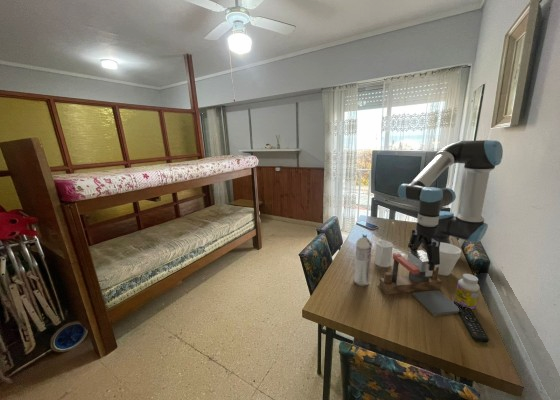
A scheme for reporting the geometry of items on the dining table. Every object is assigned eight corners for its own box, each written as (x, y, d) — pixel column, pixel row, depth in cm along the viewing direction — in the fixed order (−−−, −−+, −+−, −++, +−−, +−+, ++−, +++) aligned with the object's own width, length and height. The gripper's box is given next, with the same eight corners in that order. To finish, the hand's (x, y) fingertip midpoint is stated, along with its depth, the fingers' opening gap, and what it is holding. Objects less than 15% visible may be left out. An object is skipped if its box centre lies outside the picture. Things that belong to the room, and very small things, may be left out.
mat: (437, 292, 98) (438, 290, 98) (461, 312, 86) (462, 310, 86) (412, 294, 97) (412, 292, 97) (433, 315, 85) (434, 313, 85)
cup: (430, 276, 109) (434, 251, 106) (424, 263, 120) (428, 240, 117) (460, 280, 105) (466, 255, 101) (451, 267, 116) (455, 243, 112)
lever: (419, 273, 86) (420, 269, 86) (412, 274, 86) (412, 270, 85) (397, 256, 99) (398, 252, 98) (391, 257, 98) (391, 253, 98)
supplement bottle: (450, 299, 94) (455, 272, 90) (464, 297, 94) (470, 271, 91) (464, 310, 87) (470, 282, 84) (479, 309, 88) (486, 281, 84)
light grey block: (421, 259, 104) (422, 250, 103) (435, 270, 95) (437, 260, 94) (407, 261, 104) (408, 251, 102) (420, 272, 95) (422, 261, 94)
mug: (386, 272, 114) (389, 251, 111) (370, 266, 119) (371, 246, 116) (392, 262, 122) (395, 242, 119) (377, 257, 128) (378, 238, 125)
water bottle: (361, 288, 102) (365, 239, 96) (350, 280, 108) (353, 233, 102) (371, 283, 105) (376, 235, 99) (360, 276, 111) (364, 230, 105)
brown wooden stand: (430, 280, 106) (435, 252, 102) (440, 288, 100) (445, 258, 96) (379, 285, 104) (382, 256, 100) (386, 294, 98) (389, 263, 94)
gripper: (402, 215, 104) (397, 257, 110) (439, 234, 83) (430, 285, 89) (417, 214, 105) (412, 256, 111) (457, 233, 84) (447, 283, 90)
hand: (420, 269), depth 100 cm, fingers closed on light grey block, 9 cm apart
